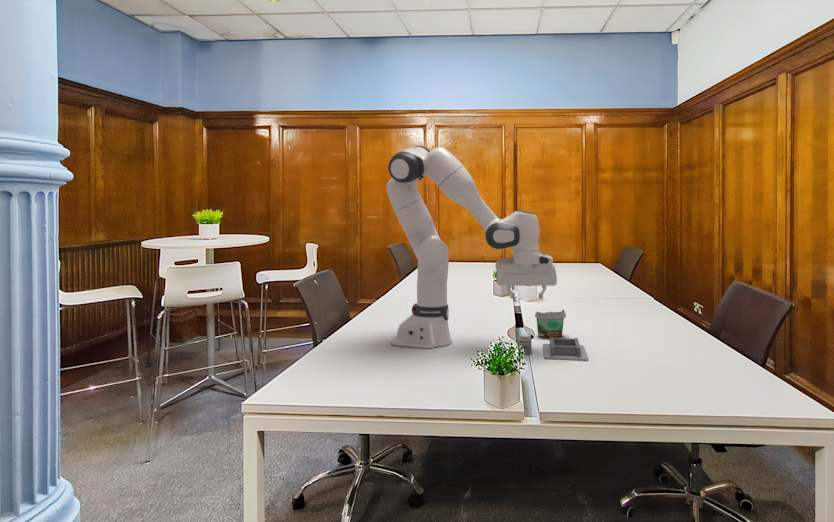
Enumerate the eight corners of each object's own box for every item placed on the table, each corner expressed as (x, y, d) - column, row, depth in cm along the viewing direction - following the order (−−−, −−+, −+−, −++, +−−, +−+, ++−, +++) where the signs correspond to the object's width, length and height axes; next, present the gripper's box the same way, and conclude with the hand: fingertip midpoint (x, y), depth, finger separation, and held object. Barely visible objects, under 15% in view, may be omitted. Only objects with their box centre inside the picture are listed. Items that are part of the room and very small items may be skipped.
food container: (542, 341, 193) (542, 314, 192) (534, 337, 199) (534, 311, 198) (571, 338, 196) (572, 312, 195) (563, 334, 202) (563, 309, 201)
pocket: (543, 358, 171) (544, 348, 171) (542, 345, 187) (543, 335, 187) (588, 361, 168) (588, 350, 168) (583, 347, 184) (583, 337, 184)
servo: (519, 354, 176) (519, 340, 176) (519, 347, 185) (519, 333, 185) (531, 355, 176) (531, 340, 175) (531, 348, 185) (531, 334, 184)
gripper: (494, 259, 177) (495, 299, 178) (557, 258, 172) (557, 300, 173) (496, 257, 183) (497, 296, 184) (556, 256, 178) (556, 296, 179)
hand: (526, 298), depth 179 cm, fingers open, 8 cm apart
